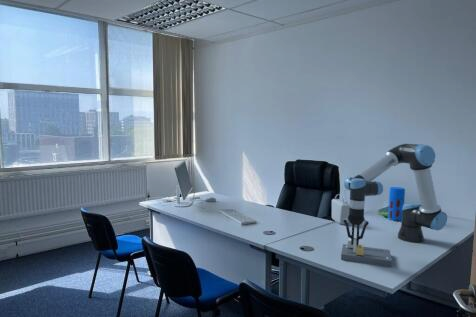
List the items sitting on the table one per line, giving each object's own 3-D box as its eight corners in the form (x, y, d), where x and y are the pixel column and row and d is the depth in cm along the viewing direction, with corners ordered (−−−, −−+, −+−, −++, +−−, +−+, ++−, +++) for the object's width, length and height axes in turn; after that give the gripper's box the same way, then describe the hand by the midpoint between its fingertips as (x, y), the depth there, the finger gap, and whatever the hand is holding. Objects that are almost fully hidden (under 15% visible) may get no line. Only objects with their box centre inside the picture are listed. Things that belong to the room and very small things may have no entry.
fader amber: (363, 252, 189) (364, 245, 189) (363, 255, 184) (364, 247, 184) (355, 251, 191) (356, 244, 190) (355, 254, 186) (356, 246, 185)
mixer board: (389, 255, 196) (389, 249, 195) (391, 266, 179) (392, 261, 179) (342, 249, 204) (343, 243, 204) (340, 259, 187) (341, 254, 187)
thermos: (404, 221, 269) (406, 189, 266) (389, 220, 271) (391, 188, 268) (401, 218, 279) (402, 187, 277) (386, 217, 281) (388, 186, 279)
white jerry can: (351, 225, 254) (353, 191, 252) (340, 225, 254) (342, 191, 251) (340, 218, 276) (342, 186, 274) (330, 218, 275) (331, 186, 273)
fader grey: (355, 245, 200) (355, 238, 200) (355, 248, 195) (355, 241, 195) (348, 244, 201) (348, 237, 201) (347, 247, 197) (348, 240, 196)
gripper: (369, 207, 188) (367, 250, 190) (344, 205, 192) (342, 246, 194) (369, 210, 181) (367, 254, 183) (343, 207, 185) (341, 251, 187)
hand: (354, 250), depth 188 cm, fingers closed
